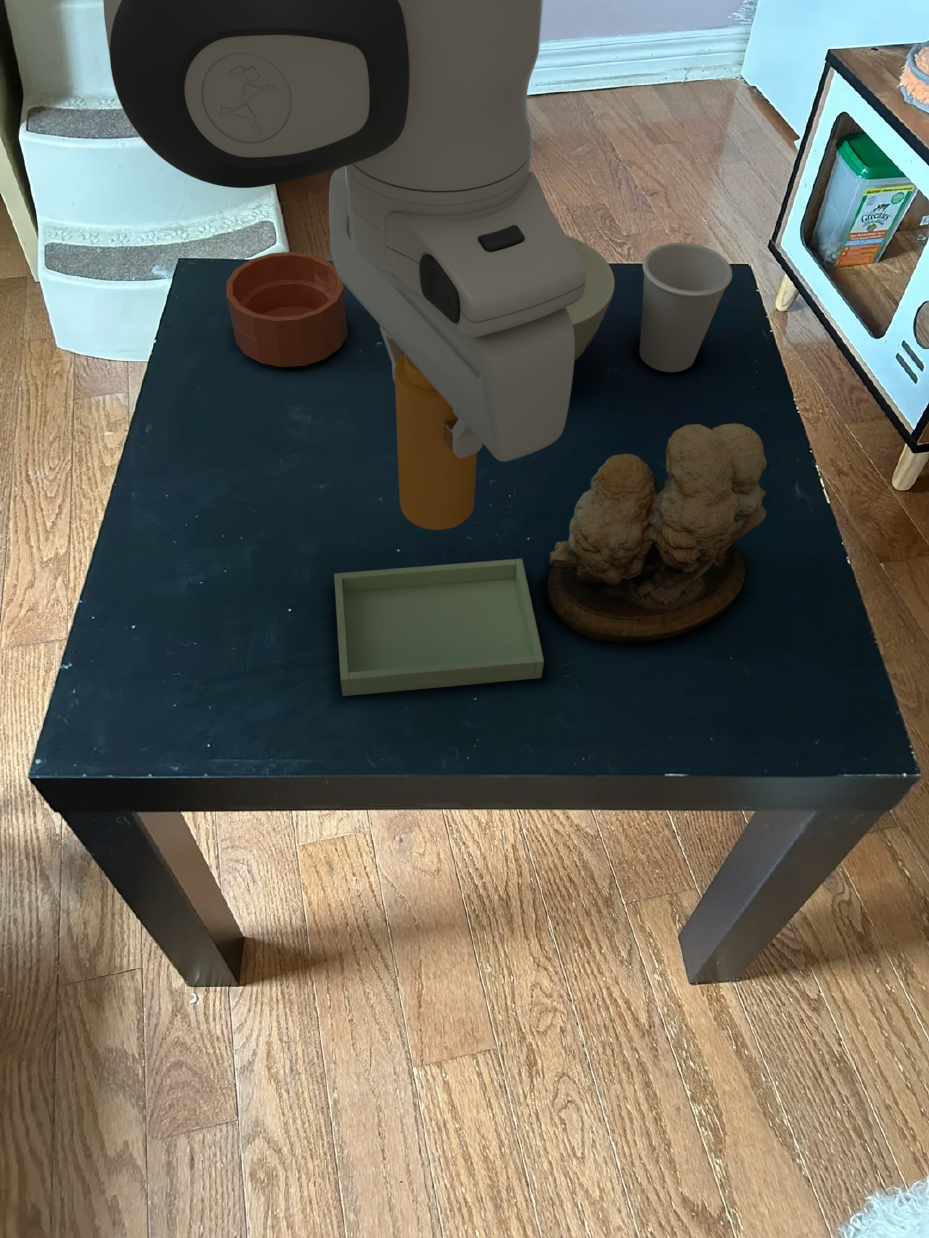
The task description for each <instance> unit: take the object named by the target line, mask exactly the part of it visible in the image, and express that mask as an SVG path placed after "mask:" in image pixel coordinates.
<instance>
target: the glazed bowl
mask: <svg viewBox="0 0 929 1238" xmlns="http://www.w3.org/2000/svg"><path fill="white" fill-rule="evenodd" d="M226 299H227V304H228V309H229V315H230V319H231V324H232V325H231V326H232V329H233V336H234V341H235V343H236V345H237V346H238V347H239V348H240V350H241V351H242V353H243V354H244V355H245V356H246V357H249V358H250V359H252V360H254V361H256V362H258V363H259V364H264V365H270V366H273V367H280V368H291V367H304V366H308V365H311V364H314V363H317V362H321V361H323V360H325V359H327V358H329V357H330V356H331V355H333V353H335V352H337V351H338V350H339V349H341V347H342V345H343V344H344V341H345V340H346V338H347V336H348V323H347V321H348V320H347V311H346V300H345V299H346V298H345V287H344V283H343V282H342V281H341V280H340V279H339V277H338V275H337V272H336V269H335V267H334V264H333V262H330V261H328V260H326V259H324V258H322V257H320V256H318V255H315V254H309V253H305V252H298V251H285V252H284V251H283V252H271V253H267V254H263V255H260V256H257V257H254V258H251V259H249V260H248V261H246V262H245V263H243V264H241V265H240V266H238V267H237V268H235V269H234V271H233V272H232V274H231V275H230V276H229V278H228V279H227V281H226Z"/></svg>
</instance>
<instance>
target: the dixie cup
mask: <svg viewBox="0 0 929 1238" xmlns="http://www.w3.org/2000/svg"><path fill="white" fill-rule="evenodd" d="M642 271H643V286H642V287H643V290H642V304H641V305H642V306H641V318H640V319H641V321H640V338H639V351H638V352H639V356H640V358H641V360H642V361H643V363H645V364H646V365H647V366H649V367H651V368H652V369H655V370H656V371H657V370H658V371H661V372H665V373H677V372H682V371H685V370H687V369H688V368H690V367H691V366H692V365H693V364H694V362H695V360H696V359H697V358H696V357H697V355H698V353H699V351H700V348H701V346H702V344H703V341H704V340H705V339H704V338H705V337H706V334H707V332H708V329H709V328H710V324H711V322H712V320H713V318H714V315H715V313H716V311H717V308H718V306H719V304H720V301H721V300H722V299H721V298H722V297H723V295H724V292H725V290H726V289H727V287H728V286H729V285H730V283H731V281H732V279H733V269H732V266H731V264H730V263H729V262H728V261H727V259H726V258H725V257H724V256H723V255H721V254H720V253H719V252H717V251H715V250H713V249H711V248H709V247H707V246H703V245H700V244H697V243H690V242H671V243H665V244H662V245H659V246H657V247H655V248H653V249H651V250H650V251H649V252H647V254H646V255H645V257H644V258H643V261H642Z"/></svg>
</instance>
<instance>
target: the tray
mask: <svg viewBox="0 0 929 1238" xmlns="http://www.w3.org/2000/svg"><path fill="white" fill-rule="evenodd" d="M333 575H334V592H335V609H336V610H335V611H336V627H337V642H338V644H337V645H338V658H339V675H340V676H339V677H340V686H341V693H342V697H349V696H359V695H371V694H381V693H382V694H383V693H392V692H394V693H395V692H403V691H414V690H425V689H436V688H445V687H447V688H448V687H458V686H468V685H479V684H490V683H491V684H492V683H500V682H512V681H513V682H514V681H523V680H532V679H533V680H534V679H541V678H542V676H543V669H544V663H545V658H544V655H543V649H542V645H541V644H542V643H541V640H540V635H539V631H538V626H537V621H536V616H535V612H534V607H533V602H532V597H531V593H530V587H529V584H528V578H527V575H526V570H525V565H524V560H523V558H511V559H500V560H499V559H497V560H487V561H476V562H475V561H474V562H473V561H472V562H462V563H450V564H436V565H425V566H412V567H401V568H398V567H397V568H387V569H385V568H384V569H374V570H373V569H372V570H363V571H348V572H337V573H333Z"/></svg>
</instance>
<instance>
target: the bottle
mask: <svg viewBox="0 0 929 1238" xmlns="http://www.w3.org/2000/svg"><path fill="white" fill-rule="evenodd" d="M394 393H395V395H394V397H395V418H396V419H395V421H396V444H397V446H396V447H397V468H398V469H397V470H398V471H397V472H398V495H399V507H400V510H401V512H402V514H403V516H404V517H405V518H406V519H407V520H408V521H409V522H410V523H411V524H414V525H415V526H417V527H420V528H422V529H426V530H435V531H440V530H449V529H452V528H455V527H458V526H460V525H462V523H464V522H465V521H466V520H468V518H469V517H470V516H471V515H472V513H473V511H474V508H475V499H476V495H475V494H476V476H477V459H478V458H477V457H478V452H477V453H474V454H472V455H469V456H467V457H464V458H462V459H461V458H458V457H457V456H456V455H455V454H454V453H453V451H452V450H451V449H450V448H449V446H448V445H447V444H446V443H445V441H444V437H445V432H444V424H445V423H446V422H449V421H451V420H455V419H456V420H458V417H456V416H455V414H454V413H453V408H452V407H451V406H450V405H449V404H448V403H447V402H446V400H445V399H444V398H443V397H442V396H441V395H440V393H439V392H438V391H437V390H436V389H435V388H434V387H433V385H432V384H431V383H430V382H429V381H428V380H427V379H426V377H425V376H424V375H423V374H422V373H421V372H420V371H419V369H418V368H417V367H416V366H415V365H414V364H413V363H412V361H411V360H410V359H409V358H408V357H407V356H406V354H405V353H404V354H403V355H402V356H401V357H400V358H399V360H398V361H397V363H396V366H395V383H394Z"/></svg>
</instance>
